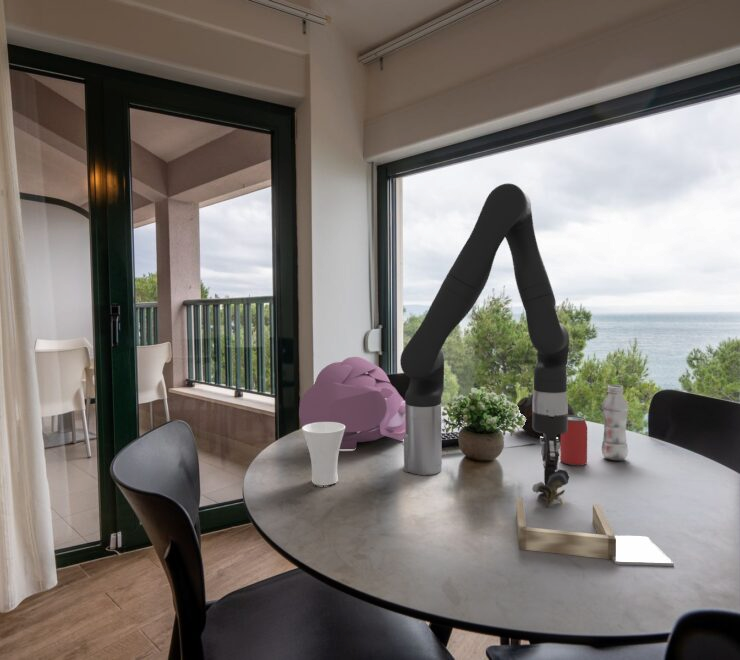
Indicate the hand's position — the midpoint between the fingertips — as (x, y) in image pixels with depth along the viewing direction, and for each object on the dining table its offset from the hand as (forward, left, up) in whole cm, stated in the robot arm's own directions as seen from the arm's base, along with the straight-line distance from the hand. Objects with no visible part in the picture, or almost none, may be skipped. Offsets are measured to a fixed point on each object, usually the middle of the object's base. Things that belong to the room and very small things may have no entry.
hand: (549, 484), depth 111 cm
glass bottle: (+3, +48, -1) cm, 48 cm away
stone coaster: (+11, -26, -1) cm, 28 cm away
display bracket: (0, -22, -1) cm, 22 cm away
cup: (-52, -7, -1) cm, 53 cm away
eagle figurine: (0, -7, -1) cm, 7 cm away
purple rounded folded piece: (-52, +28, -1) cm, 59 cm away
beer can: (+8, +21, -1) cm, 22 cm away
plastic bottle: (+19, +26, -1) cm, 32 cm away
